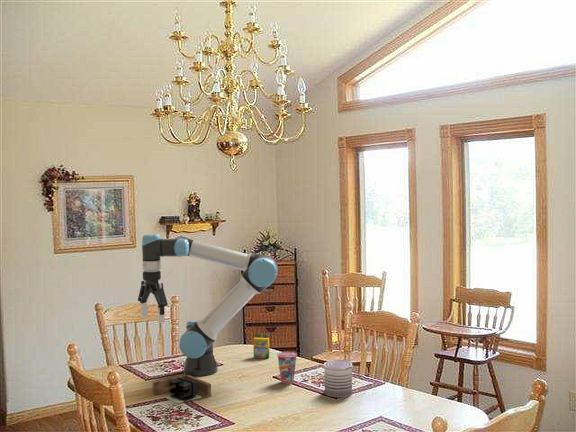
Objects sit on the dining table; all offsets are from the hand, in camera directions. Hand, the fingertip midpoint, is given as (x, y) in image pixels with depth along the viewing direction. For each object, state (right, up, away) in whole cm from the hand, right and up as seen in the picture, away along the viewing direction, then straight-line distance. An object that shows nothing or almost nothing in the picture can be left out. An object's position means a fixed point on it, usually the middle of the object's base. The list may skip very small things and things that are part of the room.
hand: (152, 320), depth 275 cm
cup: (+58, -26, -4) cm, 63 cm away
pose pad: (+17, -27, -23) cm, 39 cm away
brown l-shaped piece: (+16, -26, -20) cm, 37 cm away
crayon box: (+45, -24, +37) cm, 63 cm away
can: (+78, -26, -19) cm, 84 cm away
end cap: (+17, -26, -23) cm, 39 cm away
